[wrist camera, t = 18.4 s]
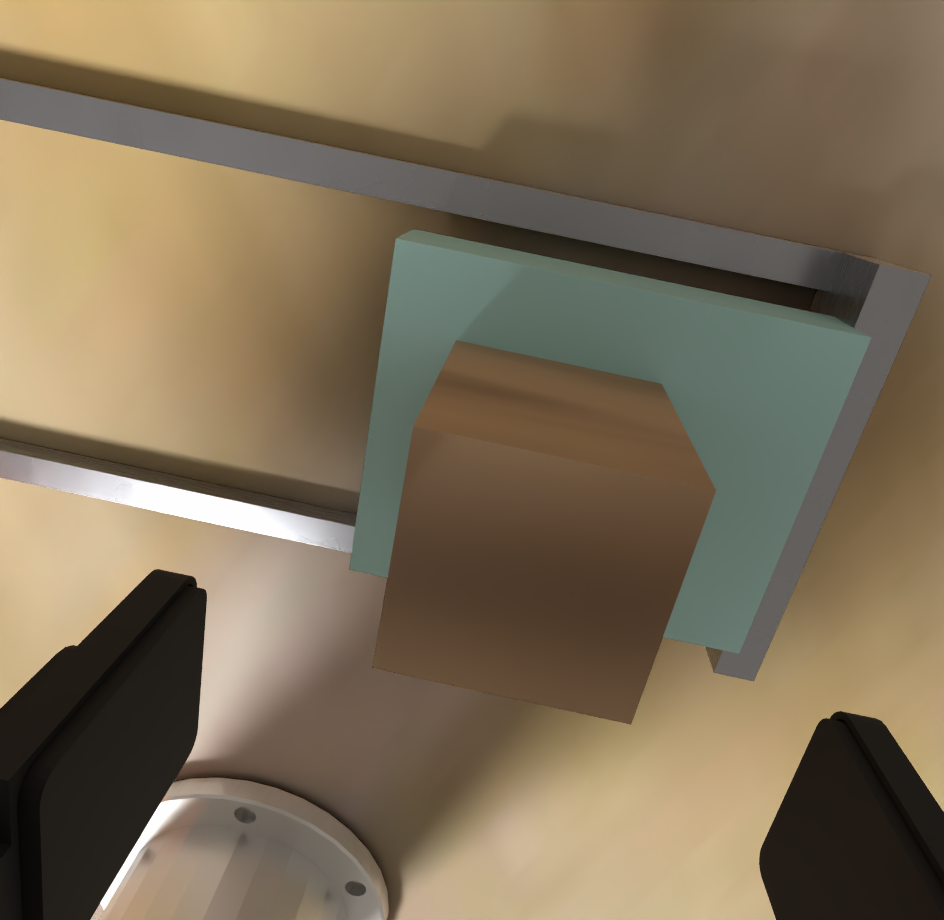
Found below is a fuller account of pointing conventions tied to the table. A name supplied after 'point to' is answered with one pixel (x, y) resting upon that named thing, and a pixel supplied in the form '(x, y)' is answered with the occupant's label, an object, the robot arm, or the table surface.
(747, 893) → the table surface
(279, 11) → the table surface
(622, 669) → the block
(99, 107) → the track
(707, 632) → the sage green box
